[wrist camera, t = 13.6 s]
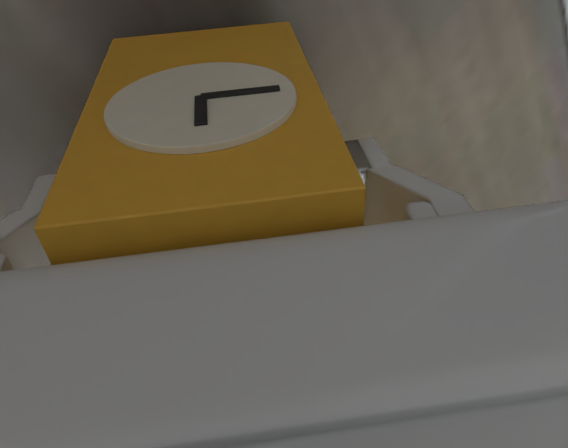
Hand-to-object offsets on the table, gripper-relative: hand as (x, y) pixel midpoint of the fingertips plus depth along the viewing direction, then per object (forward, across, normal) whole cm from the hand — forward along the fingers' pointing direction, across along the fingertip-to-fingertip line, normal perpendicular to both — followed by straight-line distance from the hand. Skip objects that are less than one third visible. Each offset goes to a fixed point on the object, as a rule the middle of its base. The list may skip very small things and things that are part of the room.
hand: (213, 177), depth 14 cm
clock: (+1, 0, 0) cm, 1 cm away
